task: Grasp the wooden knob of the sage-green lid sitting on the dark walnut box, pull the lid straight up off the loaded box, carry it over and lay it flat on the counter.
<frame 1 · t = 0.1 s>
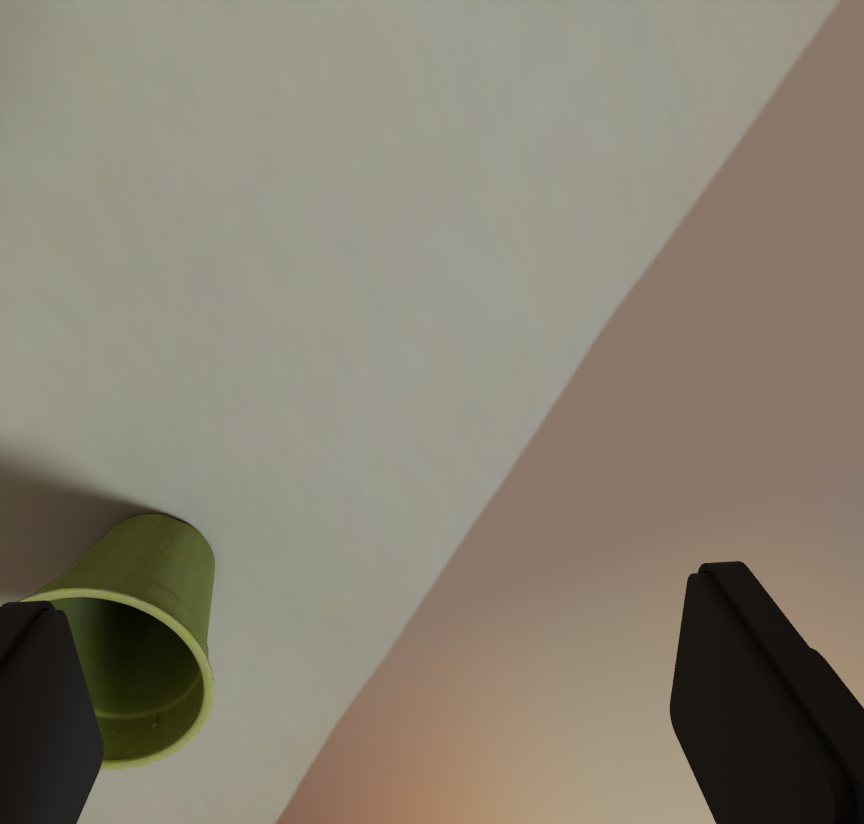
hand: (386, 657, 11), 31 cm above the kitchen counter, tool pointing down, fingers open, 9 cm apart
plant pot: (160, 555, 47), on the kitchen counter
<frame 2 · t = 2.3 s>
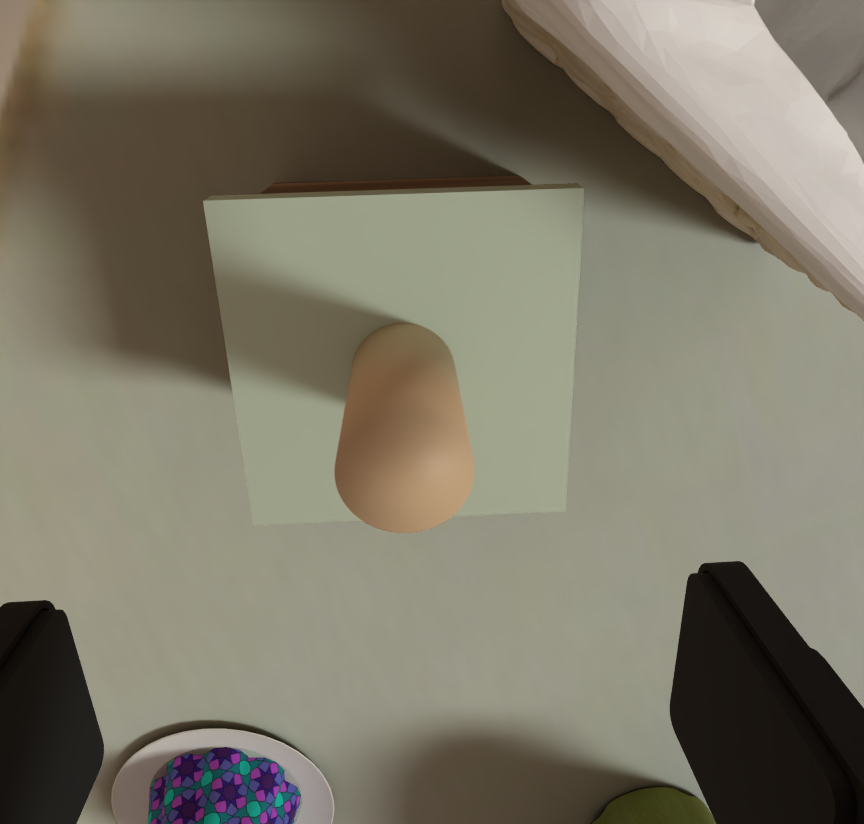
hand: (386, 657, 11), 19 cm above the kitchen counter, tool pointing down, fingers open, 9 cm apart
pudding: (228, 792, 40), on the kitchen counter
plant pot: (647, 821, 42), on the kitchen counter
lid: (403, 360, 22), point 7 cm above the kitchen counter, touching walnut box
walnut box: (402, 299, 28), on the kitchen counter
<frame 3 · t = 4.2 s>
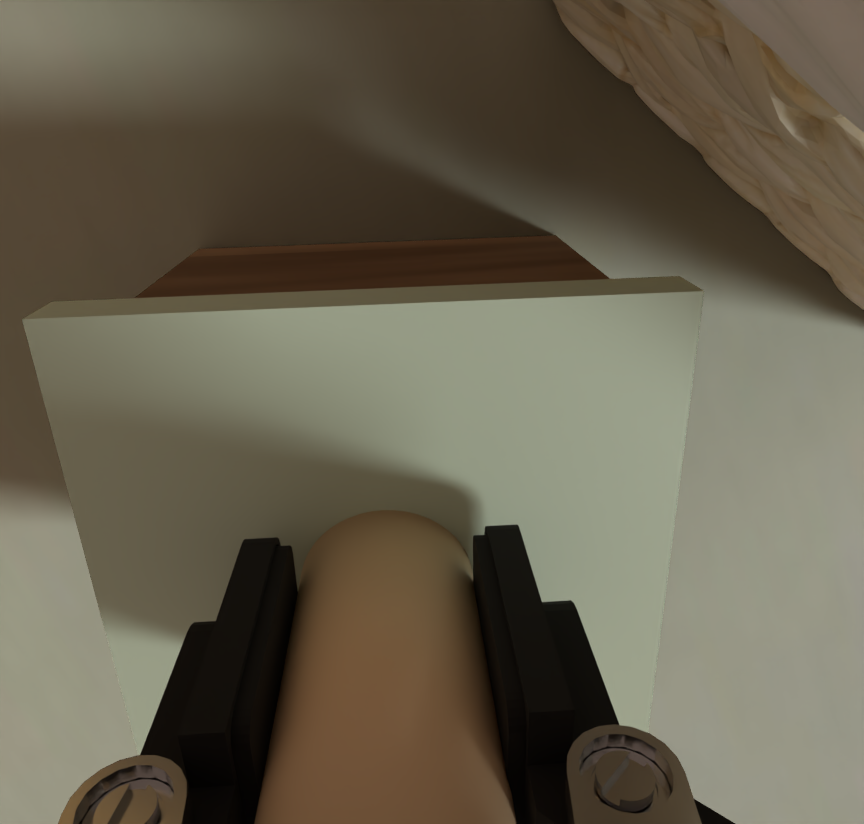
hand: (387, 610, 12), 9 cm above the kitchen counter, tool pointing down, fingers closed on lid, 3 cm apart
lid: (387, 551, 13), point 7 cm above the kitchen counter, touching gripper, walnut box
walnut box: (388, 405, 20), on the kitchen counter
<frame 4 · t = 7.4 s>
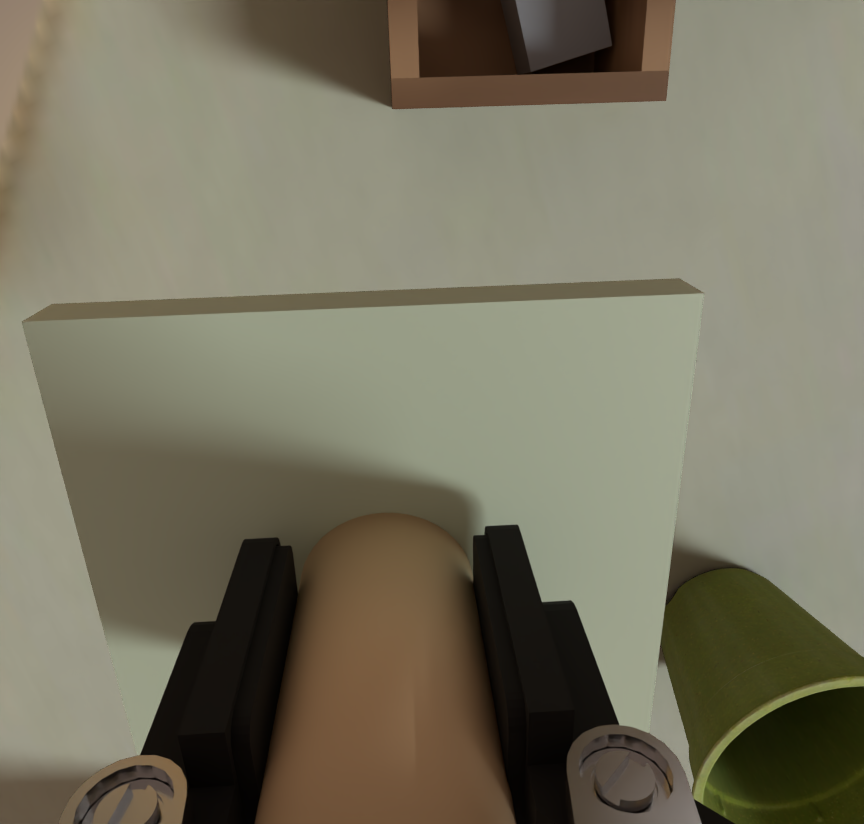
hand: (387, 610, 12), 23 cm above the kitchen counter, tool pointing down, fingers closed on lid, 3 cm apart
slate block: (545, 21, 28), point 1 cm above the kitchen counter, touching walnut box
plant pot: (716, 612, 41), on the kitchen counter
lid: (387, 553, 13), point 21 cm above the kitchen counter, touching gripper
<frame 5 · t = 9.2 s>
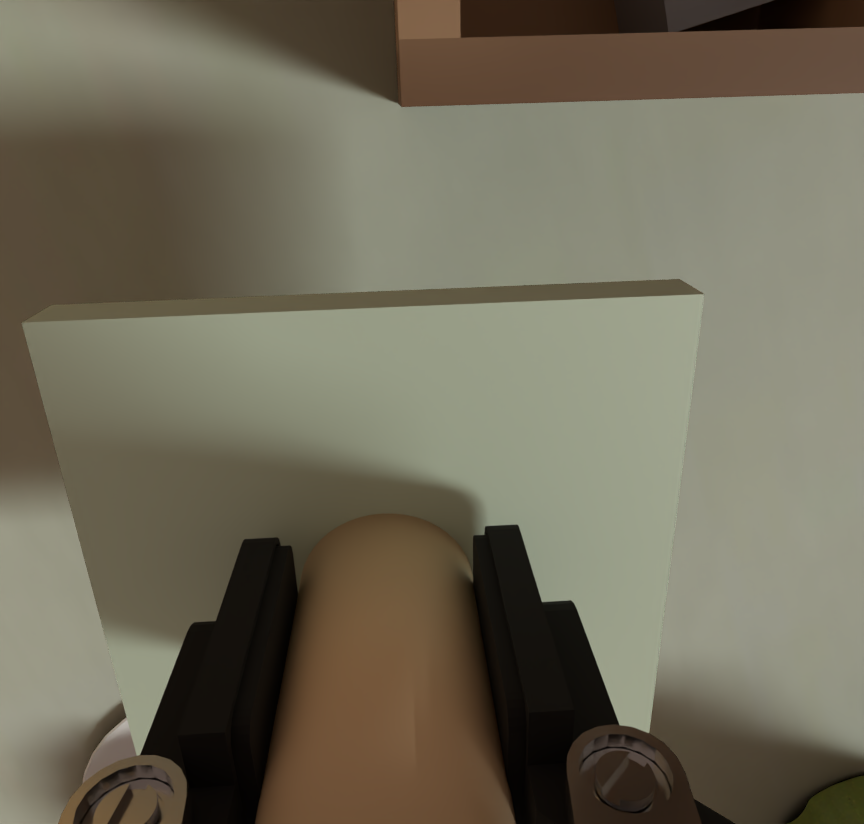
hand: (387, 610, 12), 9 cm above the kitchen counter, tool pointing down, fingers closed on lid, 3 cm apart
pudding: (256, 786, 27), on the kitchen counter
plant pot: (857, 823, 29), on the kitchen counter
lid: (387, 554, 13), point 8 cm above the kitchen counter, touching gripper
when the fingers open (4 cm above the kitchen counter, at t = 10.8 s): lid stays where it is, point 1 cm above the kitchen counter.
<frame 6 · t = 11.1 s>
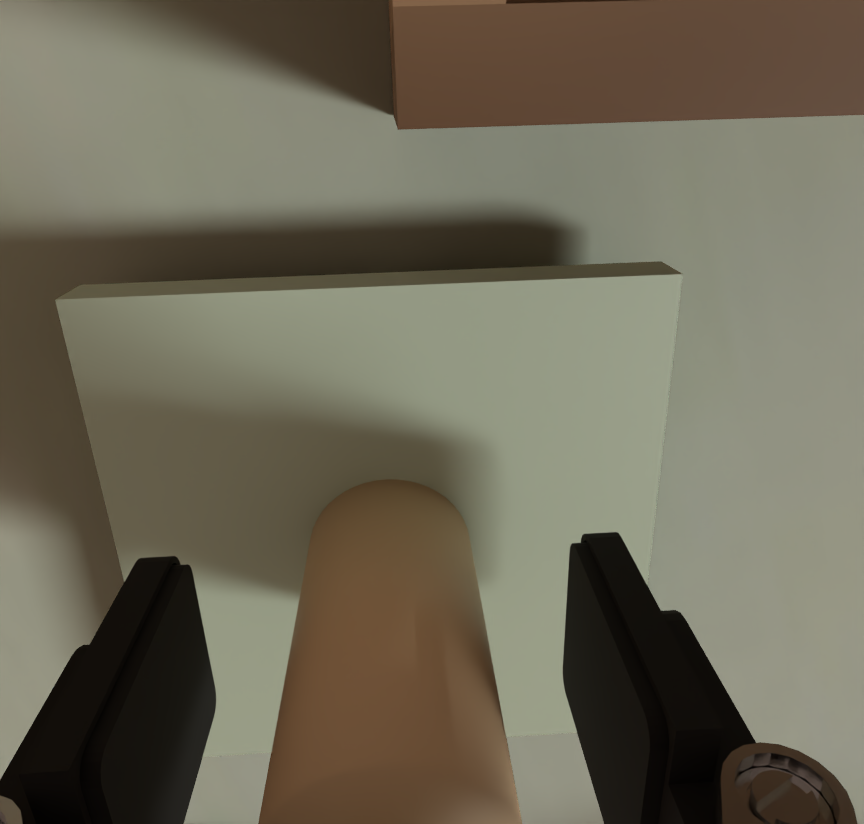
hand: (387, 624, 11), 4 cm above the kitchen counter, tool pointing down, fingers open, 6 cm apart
lid: (390, 520, 14), point 1 cm above the kitchen counter
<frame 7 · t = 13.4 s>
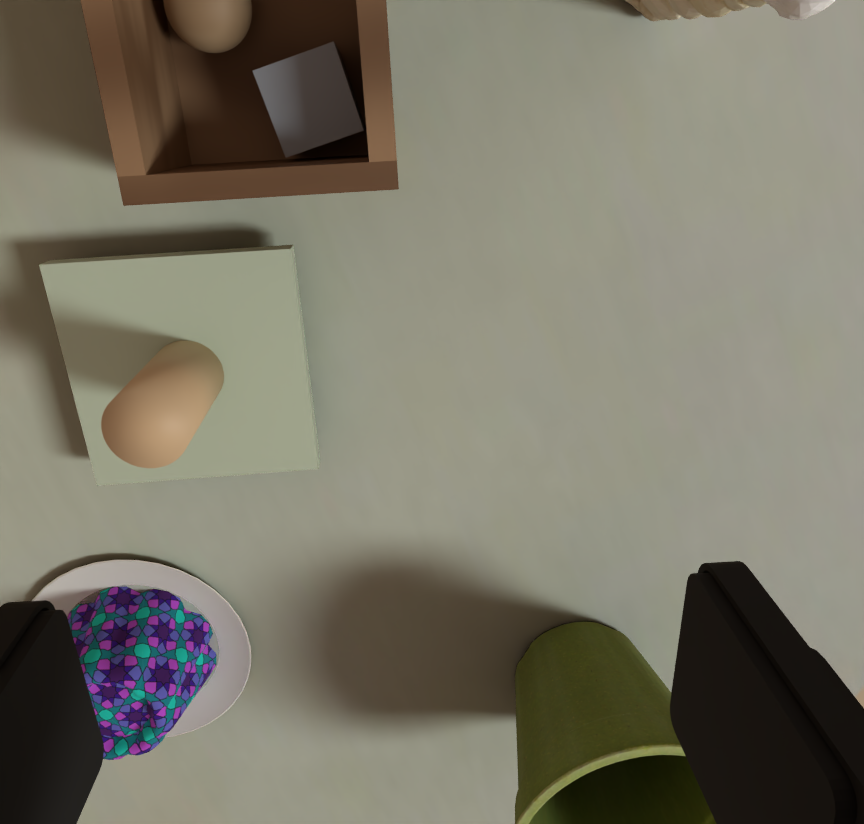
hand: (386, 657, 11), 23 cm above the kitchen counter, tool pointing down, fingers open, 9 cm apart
pudding: (142, 642, 39), on the kitchen counter
slate block: (316, 103, 28), point 1 cm above the kitchen counter, touching walnut box
plant pot: (575, 664, 41), on the kitchen counter
cork ball: (217, 11, 27), point 1 cm above the kitchen counter, touching walnut box
lid: (194, 366, 31), point 1 cm above the kitchen counter
walnut box: (273, 62, 28), on the kitchen counter
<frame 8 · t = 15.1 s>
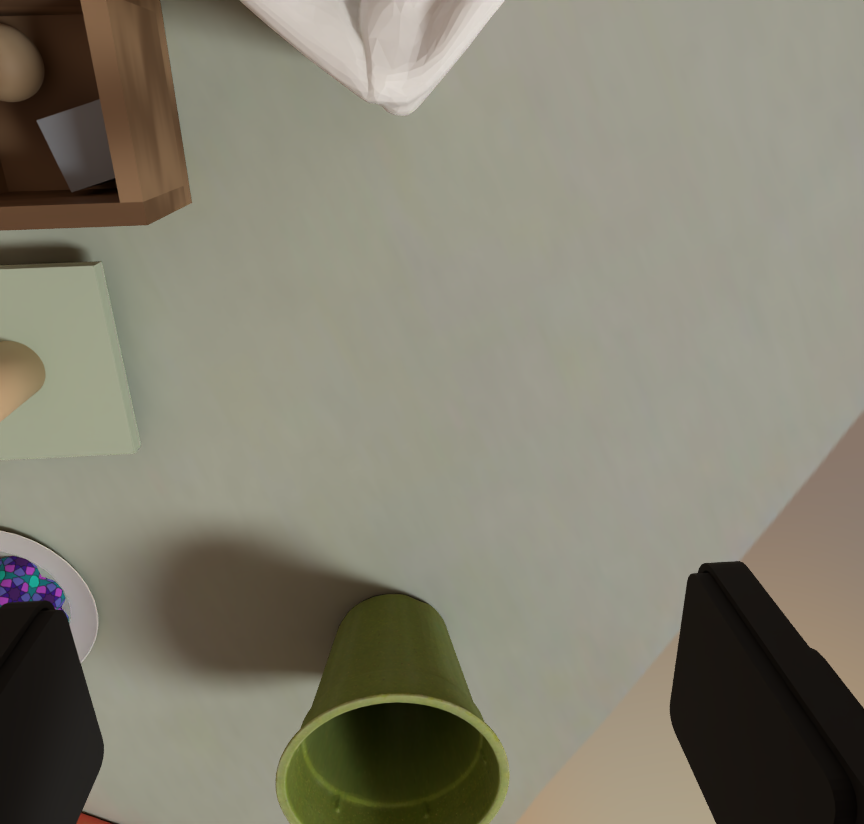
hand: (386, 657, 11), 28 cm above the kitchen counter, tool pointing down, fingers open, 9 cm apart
pudding: (4, 601, 44), on the kitchen counter
slate block: (112, 142, 33), point 1 cm above the kitchen counter, touching walnut box
plant pot: (392, 632, 46), on the kitchen counter
cork ball: (20, 65, 31), point 1 cm above the kitchen counter, touching walnut box
lid: (23, 362, 36), point 1 cm above the kitchen counter
walnut box: (78, 105, 33), on the kitchen counter
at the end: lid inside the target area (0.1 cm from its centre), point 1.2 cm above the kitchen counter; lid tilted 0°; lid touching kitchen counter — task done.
